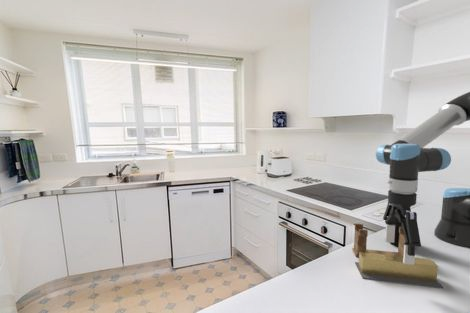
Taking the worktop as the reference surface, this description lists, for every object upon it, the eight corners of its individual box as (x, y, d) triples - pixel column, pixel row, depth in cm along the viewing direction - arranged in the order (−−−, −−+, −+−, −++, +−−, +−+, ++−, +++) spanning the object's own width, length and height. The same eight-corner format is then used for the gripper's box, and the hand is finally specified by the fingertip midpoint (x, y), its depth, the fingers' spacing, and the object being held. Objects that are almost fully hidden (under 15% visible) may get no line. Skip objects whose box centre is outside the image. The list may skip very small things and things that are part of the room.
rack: (406, 254, 90) (409, 227, 89) (415, 263, 84) (418, 234, 83) (351, 249, 95) (353, 223, 93) (356, 257, 89) (357, 229, 87)
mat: (426, 270, 80) (426, 269, 80) (443, 288, 71) (443, 287, 71) (354, 263, 85) (355, 262, 85) (362, 278, 77) (362, 277, 76)
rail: (429, 273, 78) (430, 258, 77) (436, 281, 74) (438, 265, 73) (358, 266, 83) (359, 251, 82) (362, 272, 79) (362, 257, 78)
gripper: (375, 181, 88) (372, 234, 90) (408, 203, 63) (403, 273, 66) (397, 182, 86) (394, 235, 89) (440, 204, 62) (434, 276, 65)
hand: (398, 251), depth 77 cm, fingers open, 13 cm apart
